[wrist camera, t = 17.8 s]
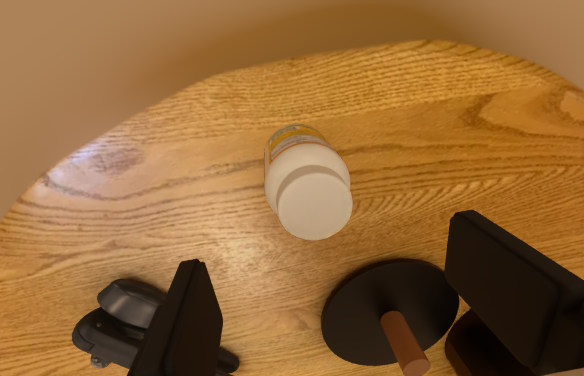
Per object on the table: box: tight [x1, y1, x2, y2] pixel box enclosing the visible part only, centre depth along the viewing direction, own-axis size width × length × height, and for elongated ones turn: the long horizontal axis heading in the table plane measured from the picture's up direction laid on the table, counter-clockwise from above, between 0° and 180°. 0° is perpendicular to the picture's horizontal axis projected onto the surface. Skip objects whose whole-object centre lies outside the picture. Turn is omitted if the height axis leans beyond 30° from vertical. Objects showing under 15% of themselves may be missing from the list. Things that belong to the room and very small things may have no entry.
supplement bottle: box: [264, 124, 353, 240], centre depth 18 cm, size 5×5×10 cm
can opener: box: [72, 279, 239, 376], centre depth 27 cm, size 18×7×6 cm, turn 42°
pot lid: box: [321, 259, 459, 376], centre depth 28 cm, size 16×16×7 cm
